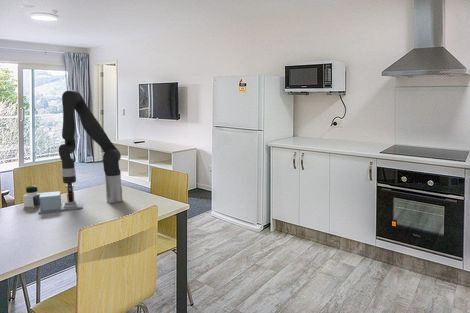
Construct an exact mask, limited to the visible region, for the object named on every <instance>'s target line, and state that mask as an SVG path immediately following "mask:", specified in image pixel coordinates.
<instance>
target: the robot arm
mask: <svg viewBox="0 0 470 313" xmlns="http://www.w3.org/2000/svg"><path fill="white" fill-rule="evenodd" d="M61 103H62V130H61V131H62V132H61V137H62V140H64V143H62V144H60V145H59V147H58V155H59V158H60V161H61V166H62V167H61V168H62V169H61V171H62V172H61V173H62V174H61V175H62V183H63V184H66V194H67V193H68V196H69V202H73V192H74V184H73V183H76V182H77V176H76V167H75V159H74V158H72V156H71V154H73V153H75V152H76V139H75V138H76V137H75V134H76V122H75V112H76V113H77V114H78V117H79V119H80V123H81V126H82V127H83V130H84V131H85V132H86V134H87V135H88V137H90V139H92V140H93V142H95V143H96V144H97V145H98V146H99V147H100V148H101V150H102V151H103V155H102V163H103V164H102V165H103V172H104V176H105V178H104V179H105V193H106V196H105V197H106V203H108V204H116V203H121V202H123V186H122V178H121V177H122V176H121V175H122V172H121V169H120V165H119V164H120V162H119V161H120V160H121V159H122V158H121V157H122V155H121V152H120V150H119V149H118V148H117V147H116V145H114V144H113V142H112V141H111V139H110V138H109V136H108V135H107V133H106V131H105V130H104V129H103V127H102V125H101V124H100V122H99V121H98V119H97V118H96V117H95V115H94V113H92V111H91V110H90V108H89V107H88V105H87V104H86V102H85V100H84V98H83V96H82V94H81V93H80V92H79V91H78V90H74V89H69V90H65V91H63V93H62V95H61ZM71 193H72V194H71ZM69 194H71V195H69Z"/></svg>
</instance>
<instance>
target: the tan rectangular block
mask: <svg viewBox="0 0 470 313" xmlns="http://www.w3.org/2000/svg"><path fill="white" fill-rule="evenodd" d="M71 194H72V193H71ZM71 194H69V195H71ZM66 199H67V202H69V196H68V193H67V192H66ZM75 201H76V200H75V192H74V191H73V202H75Z"/></svg>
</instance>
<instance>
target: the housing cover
mask: <svg viewBox="0 0 470 313" xmlns="http://www.w3.org/2000/svg"><path fill="white" fill-rule="evenodd" d="M39 193H40V196H39V200H40V205H39V208H40V211H47V210H55V209H61V204H62V198H61V197H62V196H61V191H57V190H56V191H49V192H48V191H47V192H39Z"/></svg>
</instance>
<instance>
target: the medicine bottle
mask: <svg viewBox="0 0 470 313" xmlns="http://www.w3.org/2000/svg"><path fill="white" fill-rule="evenodd" d="M25 190H26V194H24V195H22V199H23V207H24V208H37V207H40V200H39V196H40V193H41V192H39V190H38V186H37V185H29V186H27V187H25Z"/></svg>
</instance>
